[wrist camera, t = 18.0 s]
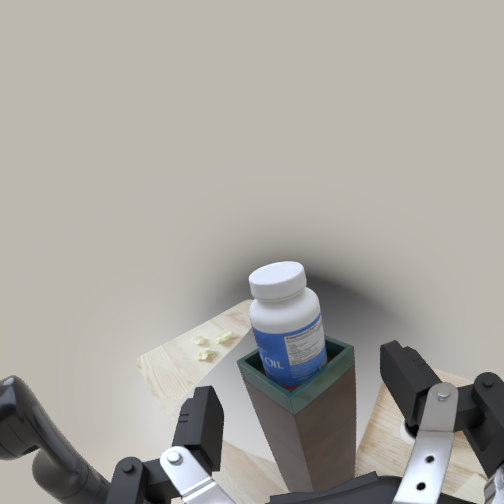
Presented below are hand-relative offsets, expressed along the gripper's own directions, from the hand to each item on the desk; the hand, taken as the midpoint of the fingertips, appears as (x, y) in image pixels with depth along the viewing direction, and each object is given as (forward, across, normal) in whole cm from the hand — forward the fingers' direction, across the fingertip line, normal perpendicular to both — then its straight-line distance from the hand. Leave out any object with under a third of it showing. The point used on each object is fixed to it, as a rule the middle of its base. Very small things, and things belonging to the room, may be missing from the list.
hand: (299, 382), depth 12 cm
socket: (+9, 0, +8) cm, 12 cm away
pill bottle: (+9, 0, +8) cm, 12 cm away
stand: (+9, 0, +34) cm, 36 cm away
